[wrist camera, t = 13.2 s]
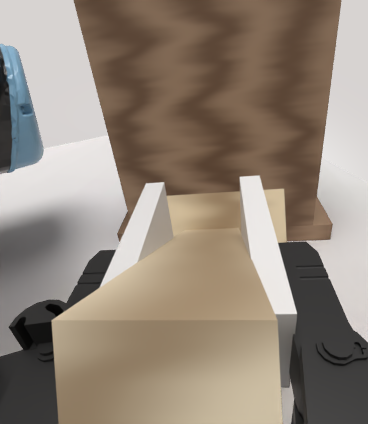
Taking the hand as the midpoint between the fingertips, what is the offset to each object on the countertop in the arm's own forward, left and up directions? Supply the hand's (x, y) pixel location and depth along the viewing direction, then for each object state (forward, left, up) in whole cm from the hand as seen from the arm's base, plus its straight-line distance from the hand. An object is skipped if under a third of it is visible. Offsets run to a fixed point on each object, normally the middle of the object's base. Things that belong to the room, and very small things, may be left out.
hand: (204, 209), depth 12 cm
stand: (0, +21, -15) cm, 26 cm away
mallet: (0, -2, -6) cm, 6 cm away
